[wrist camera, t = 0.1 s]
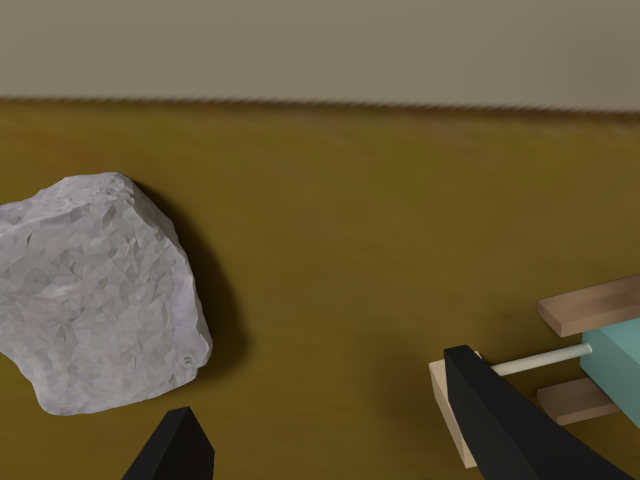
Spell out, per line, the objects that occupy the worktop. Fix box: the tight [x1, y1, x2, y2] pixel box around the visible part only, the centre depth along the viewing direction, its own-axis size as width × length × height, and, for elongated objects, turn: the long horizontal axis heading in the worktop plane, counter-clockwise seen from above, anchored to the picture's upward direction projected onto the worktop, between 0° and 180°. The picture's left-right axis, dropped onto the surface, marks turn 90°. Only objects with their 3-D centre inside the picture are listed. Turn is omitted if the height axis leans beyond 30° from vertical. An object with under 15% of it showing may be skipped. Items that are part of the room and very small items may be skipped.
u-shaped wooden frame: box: [537, 274, 640, 426], centre depth 23 cm, size 10×9×2 cm
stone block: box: [0, 172, 213, 415], centre depth 19 cm, size 12×5×10 cm
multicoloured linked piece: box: [429, 318, 640, 468], centre depth 22 cm, size 15×4×5 cm, turn 105°
